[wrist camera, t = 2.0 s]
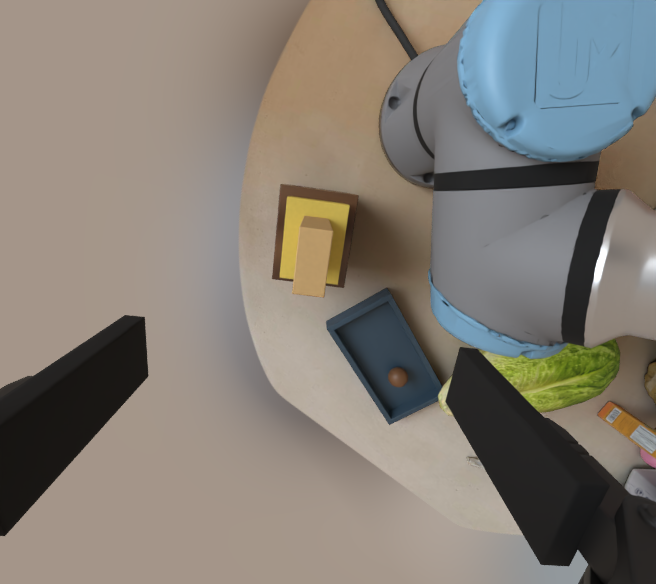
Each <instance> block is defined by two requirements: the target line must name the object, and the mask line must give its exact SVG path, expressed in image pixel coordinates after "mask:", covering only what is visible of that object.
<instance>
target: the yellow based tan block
mask: <svg viewBox="0 0 656 584" xmlns="http://www.w3.org/2000/svg"><path fill="white" fill-rule="evenodd" d="M349 207H350V205H348V204H344V203H337V202H330V201H323V200H315V199H308V198H301V197H294V196H288V197H287V204H286V214H285V225H284V236H283V246H282V257H281V267H280V278H287V279H294V281H293V290H292V293H293V294H299V295H307V296H316V297H324V294H325V287H326V283H328V284H336V285H338V279H339V273H340V266H341V260H342V253H343V247H344V240H345V234H346V227H347V220H348V214H349Z"/></svg>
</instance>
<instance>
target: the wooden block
mask: <svg viewBox="0 0 656 584" xmlns="http://www.w3.org/2000/svg"><path fill="white" fill-rule="evenodd" d="M288 196H294V197H301V198H308V199H315V200H323V201H330V202H337V203H344V204H348V205H350V207H349V214H348V220H347V227H346V234H345V240H344V247H343V253H342V260H341V266H340V273H339V279H338V285H336V284H328V283H326V286H334V287H342V288H344V284H345V278H346V271H347V265H348V259H349V253H350V246H351V240H352V234H353V227H354V221H355V215H356V209H357V202H358V195H355V194H350V193H344V192H337V191H330V190H323V189H316V188H309V187H302V186H295V185H286V184H281V185H280V195H279V206H278V218H277V229H276V241H275V252H274V264H273V275H272V279H276V280H284V281H294V279H287V278H280V267H281V257H282V246H283V236H284V225H285V214H286V204H287V197H288Z"/></svg>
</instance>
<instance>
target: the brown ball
mask: <svg viewBox="0 0 656 584" xmlns="http://www.w3.org/2000/svg"><path fill="white" fill-rule="evenodd" d="M388 380H389V382H390V383H391V384H392V385H393V386H395V387H403V386H404V385H406V383H407V381H408V374H407V372H406V371H405V370H404V369H403V368H401V367H395V368H392V369H391V370H390V372H389V374H388Z"/></svg>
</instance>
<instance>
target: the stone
mask: <svg viewBox="0 0 656 584" xmlns="http://www.w3.org/2000/svg"><path fill="white" fill-rule="evenodd" d="M644 377H645V378H644V379H645V388H646V390H647V391H648V394H649V396H651V397H652V398H653V400H654V403H655V404H656V362H654V363H651V364H650V365H649V366H648V372H647V374H646V375H645V376H644ZM654 430H655V431H656V428H655V429H654Z"/></svg>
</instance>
